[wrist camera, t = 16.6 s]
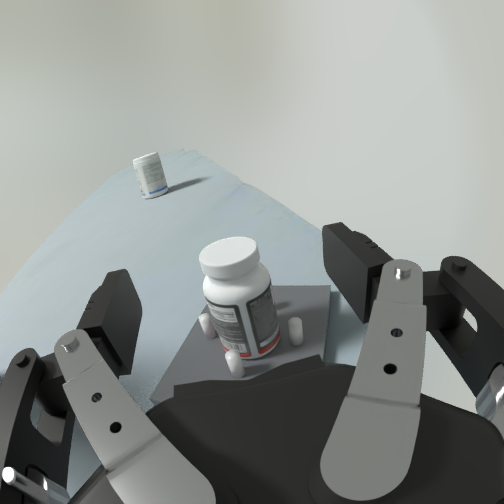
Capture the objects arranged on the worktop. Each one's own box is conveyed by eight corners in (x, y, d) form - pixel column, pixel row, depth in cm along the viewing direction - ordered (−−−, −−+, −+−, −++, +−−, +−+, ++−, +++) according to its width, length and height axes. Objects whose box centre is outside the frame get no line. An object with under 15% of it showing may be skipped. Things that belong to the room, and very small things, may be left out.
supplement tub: (172, 188, 102) (163, 150, 95) (161, 197, 93) (150, 155, 87) (150, 193, 104) (140, 155, 97) (138, 201, 96) (127, 161, 89)
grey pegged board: (155, 405, 23) (137, 381, 21) (220, 292, 38) (214, 268, 36) (311, 434, 18) (310, 411, 17) (330, 293, 33) (329, 267, 32)
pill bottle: (270, 314, 30) (254, 227, 26) (289, 350, 25) (274, 254, 21) (218, 330, 30) (190, 245, 25) (228, 369, 25) (196, 277, 20)
